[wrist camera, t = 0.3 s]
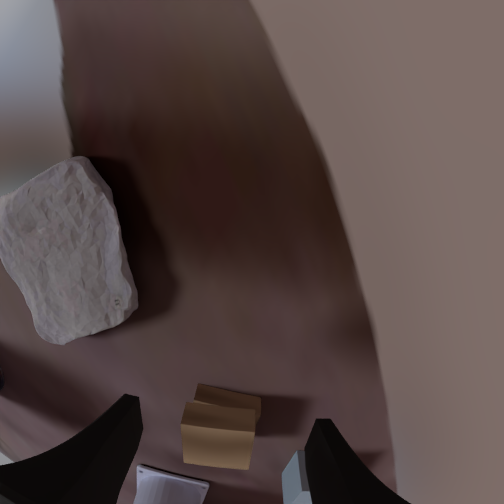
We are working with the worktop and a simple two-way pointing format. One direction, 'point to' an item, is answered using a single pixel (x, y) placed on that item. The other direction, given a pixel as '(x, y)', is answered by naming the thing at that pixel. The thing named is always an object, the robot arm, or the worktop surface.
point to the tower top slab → (217, 435)
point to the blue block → (296, 481)
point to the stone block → (67, 252)
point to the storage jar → (1, 379)
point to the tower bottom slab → (227, 399)
